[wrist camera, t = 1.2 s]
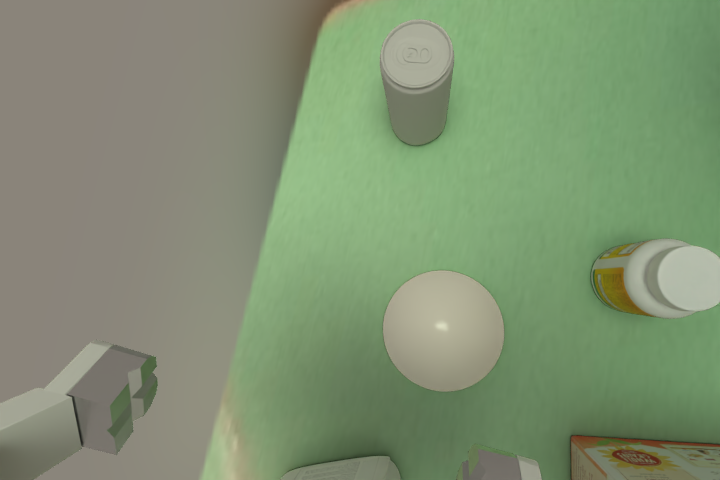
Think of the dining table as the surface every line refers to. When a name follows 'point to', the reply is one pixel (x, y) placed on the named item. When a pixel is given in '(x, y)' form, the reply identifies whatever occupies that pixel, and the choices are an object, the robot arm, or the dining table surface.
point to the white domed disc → (443, 331)
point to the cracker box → (642, 459)
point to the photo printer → (348, 470)
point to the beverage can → (417, 79)
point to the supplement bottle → (658, 278)
